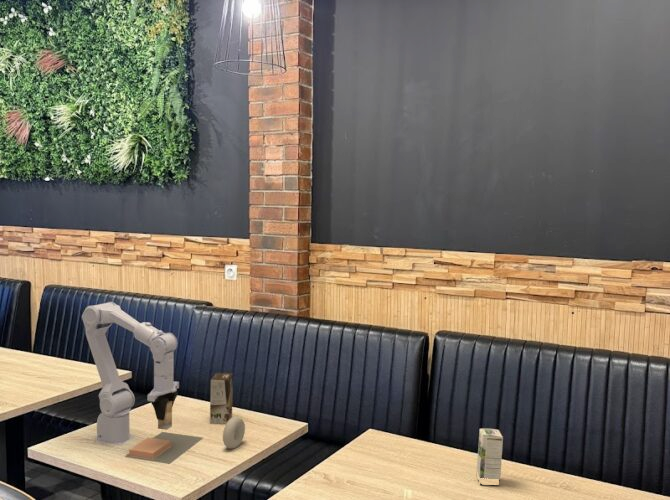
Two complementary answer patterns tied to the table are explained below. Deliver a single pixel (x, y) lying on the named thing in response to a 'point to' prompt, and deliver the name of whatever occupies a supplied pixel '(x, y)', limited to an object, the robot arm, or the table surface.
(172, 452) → the mat
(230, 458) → the table surface
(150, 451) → the tile
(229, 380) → the coffee box
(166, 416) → the wooden block
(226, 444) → the grey round disc
